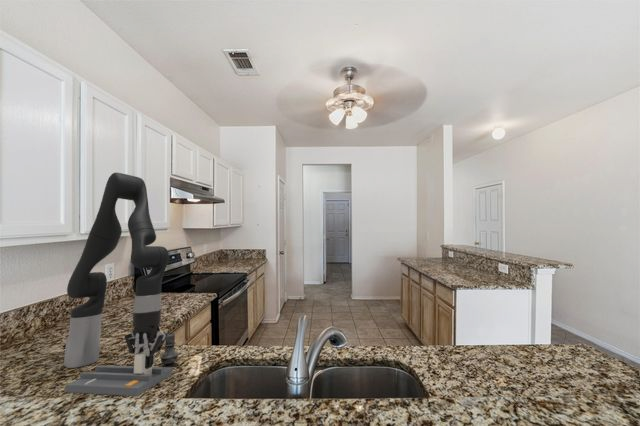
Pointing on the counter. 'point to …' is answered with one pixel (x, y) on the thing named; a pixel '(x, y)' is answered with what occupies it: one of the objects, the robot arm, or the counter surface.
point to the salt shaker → (169, 352)
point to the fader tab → (141, 364)
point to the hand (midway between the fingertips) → (144, 367)
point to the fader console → (117, 380)
